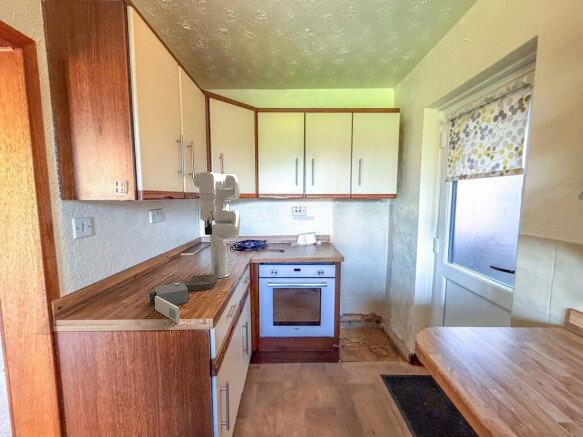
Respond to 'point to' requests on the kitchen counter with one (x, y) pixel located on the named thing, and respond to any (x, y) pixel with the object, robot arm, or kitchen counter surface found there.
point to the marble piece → (201, 282)
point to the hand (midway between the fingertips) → (208, 234)
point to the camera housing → (171, 293)
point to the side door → (167, 309)
